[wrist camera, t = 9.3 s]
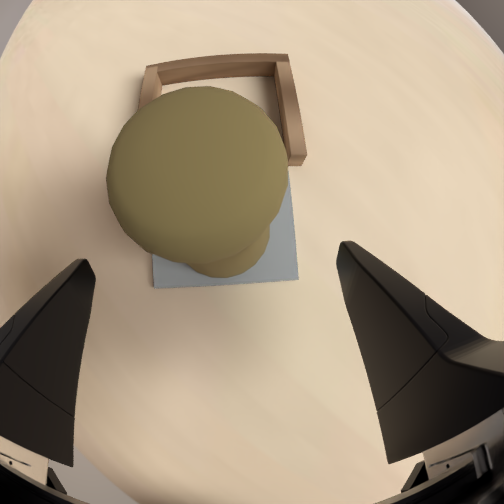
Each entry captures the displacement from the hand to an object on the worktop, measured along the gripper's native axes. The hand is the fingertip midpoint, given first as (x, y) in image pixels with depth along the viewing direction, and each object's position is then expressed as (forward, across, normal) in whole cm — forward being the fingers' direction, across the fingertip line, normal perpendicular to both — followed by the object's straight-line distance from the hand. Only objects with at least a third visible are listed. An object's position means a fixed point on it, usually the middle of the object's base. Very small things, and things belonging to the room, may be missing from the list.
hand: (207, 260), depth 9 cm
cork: (+7, 0, +4) cm, 8 cm away
